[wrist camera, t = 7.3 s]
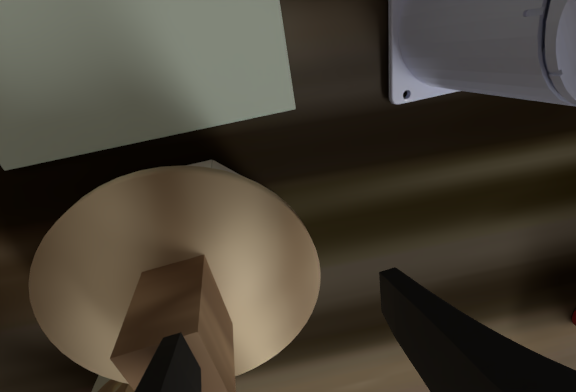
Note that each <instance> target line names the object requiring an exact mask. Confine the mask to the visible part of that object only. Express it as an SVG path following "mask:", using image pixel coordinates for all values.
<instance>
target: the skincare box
mask: <svg viewBox="0 0 576 392" xmlns="http://www.w3.org/2000/svg"><path fill="white" fill-rule="evenodd" d="M92 392H134V390H133V389H132V387H131V386H130V385H129V384H127V383H122V382H118V381H115V380H112V379H109V378H106V377H103V376H101V375H98V377H97V380H96V382H95V384H94V387H93V389H92Z"/></svg>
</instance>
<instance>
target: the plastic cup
mask: <svg viewBox="0 0 576 392" xmlns="http://www.w3.org/2000/svg"><path fill="white" fill-rule="evenodd" d="M572 321H573V324H574V325H576V310H575V311H574V313H573V316H572Z"/></svg>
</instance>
